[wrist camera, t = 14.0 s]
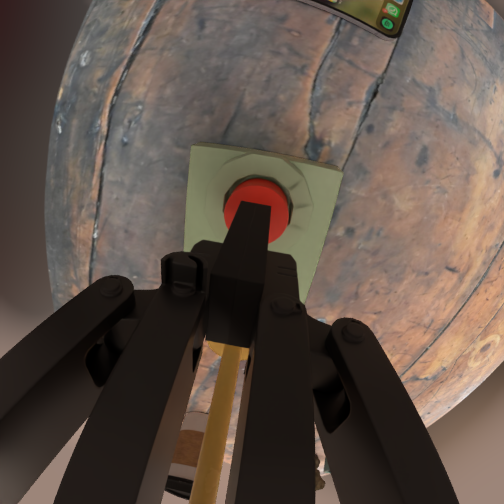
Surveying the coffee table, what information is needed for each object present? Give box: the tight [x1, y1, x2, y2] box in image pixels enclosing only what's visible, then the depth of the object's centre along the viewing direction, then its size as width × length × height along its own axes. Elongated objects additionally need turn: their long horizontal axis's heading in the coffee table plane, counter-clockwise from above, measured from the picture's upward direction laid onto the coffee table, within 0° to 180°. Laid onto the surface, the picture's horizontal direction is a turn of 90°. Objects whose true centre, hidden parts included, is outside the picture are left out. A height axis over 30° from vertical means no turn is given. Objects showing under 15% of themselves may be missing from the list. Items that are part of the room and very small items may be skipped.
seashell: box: [315, 456, 325, 491], centre depth 41 cm, size 11×12×10 cm
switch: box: [224, 178, 289, 244], centre depth 16 cm, size 4×4×2 cm
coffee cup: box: [164, 412, 209, 500], centre depth 31 cm, size 8×8×15 cm
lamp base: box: [184, 142, 343, 304], centre depth 20 cm, size 16×10×4 cm, turn 171°
